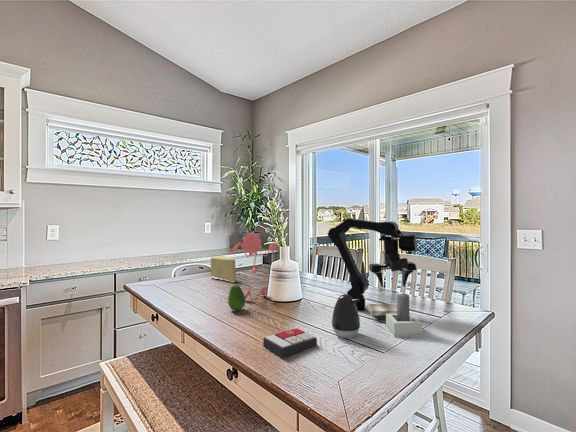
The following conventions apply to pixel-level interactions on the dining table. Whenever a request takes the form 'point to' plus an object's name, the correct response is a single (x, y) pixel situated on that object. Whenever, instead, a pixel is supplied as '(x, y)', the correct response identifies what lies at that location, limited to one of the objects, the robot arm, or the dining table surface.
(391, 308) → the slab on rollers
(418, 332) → the socket stand
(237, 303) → the avocado
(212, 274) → the cheese
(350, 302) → the dark egg shaped device
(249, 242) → the figurine
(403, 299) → the dark grey block
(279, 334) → the red and grey box
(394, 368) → the dining table surface
